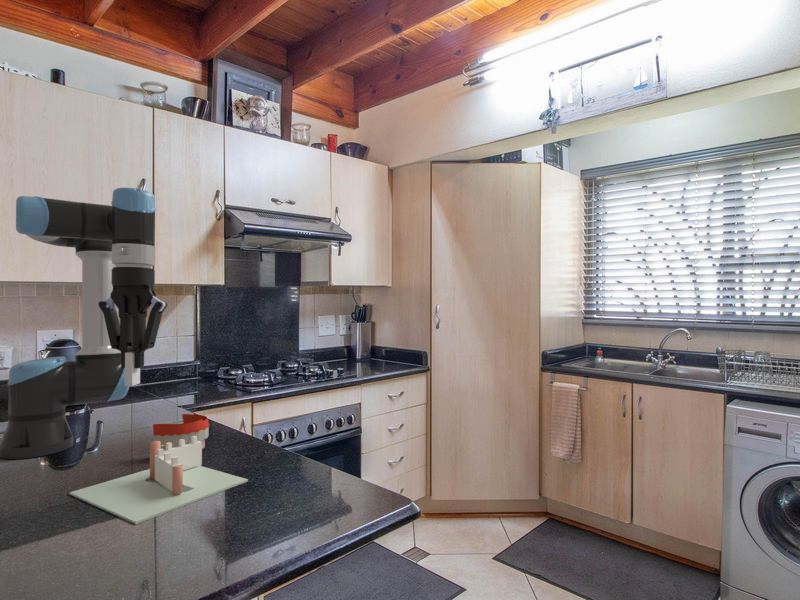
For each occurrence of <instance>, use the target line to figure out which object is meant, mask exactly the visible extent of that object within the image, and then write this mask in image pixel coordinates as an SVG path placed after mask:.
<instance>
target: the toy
mask: <svg viewBox="0 0 800 600" xmlns="http://www.w3.org/2000/svg"><path fill="white" fill-rule="evenodd" d="M181 416H182V423H153V424H152V431H153V432H152V433H153V441H161V449H164V450H166V443H168V442H170V443H172V448H174V447H177V446H179V440H180V439H184V440H185V444H189V443H191V437H192V436H197V441H201V442H202V451H203V450H204V449H205V448H206V446H205V445H206V444H205V443H206V442H205V440H206V439H208V438H209V435H210V434H209V433H210V431H209V430H210V429H209V428H210V422H209V420H208V417H207V416H206V415H202V414H192V413H183V414H181Z"/></svg>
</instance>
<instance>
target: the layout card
mask: <svg viewBox="0 0 800 600" xmlns="http://www.w3.org/2000/svg"><path fill="white" fill-rule="evenodd" d="M247 482H249V479H248V478H245V477H241V476H238V475H233V474H230V473H226V472H224V471H220V470H216V469H213V468H209V467H206V466H202V465H200V466H196V467H193V468H190V469H187V470H183V492H182V493H180V494H172V492H171V491H170V490H169V489H167V488H166V487H164V486H163V485H161V484H160V483H159V482H157V481H156V480H150V468H148V469H144V470H141V471H138V472H134V473H131V474H128V475H124V476H121V477H117V478H114V479H110V480H108V481H103V482H100V483H96V484H94V485H90V486H86V487H83V488H80V489H76V490H73V491H70V492H69V495H70V496H72V497H75V498H76V499H79V500H81V501H83V502H86V503H88V504H90V505H92V506H94V507H97V508H99V509H102V510H103V511H105V512H108V513H110V514H112V515H114V516H116V517H119V518H121V519H123V520H125V521H127V522H129V523H132V524H134V525H139V524H140V523H141V524H142V523H144V522H146V521H148V520H151V519H154V518H156V517H160V516H161V515H164V514H167V513H169V512H172V511H175V510H177V509H180V508H182V507H185V506H188V505H190V504H192V503H195V502H198V501H200V500H204V499H206V498H208V497H210V496H213V495H216V494H219V493H222V492H224V491H227V490H229V489H231V488H234V487H237V486H240V485H242V484H245V483H247Z"/></svg>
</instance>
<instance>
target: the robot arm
mask: <svg viewBox="0 0 800 600" xmlns="http://www.w3.org/2000/svg"><path fill="white" fill-rule="evenodd" d="M155 198H156V197H155V195H154V194H153V192H151V191H149V190H146V189H142V188H135V187H118V188H116V189H114V190H113V191H112V197H111V199H112V200H111V201H110V202H111V205H107V204H99V203H89V202H83V201H82V202H81V201H80V202H78V201H72V200H65V199H55V198H47V197H43V196H27V195H21V196H18V197H17V198H16V200H15V230H16V232H18V233H19V234H21V235H26V236H27V237H28V238H30V239H32V240H35V241H37V242H41V243H42V244H47V245H52V246H57V247H63V248H64V247H66V248H75V252H74V253H75V255H76V257H78V259H79V260H81V265H82V266H81V267H82V268H81V272H82V273H81V278H82V281H81V285H82V286H81V288H82V289H81V293H82V294H81V297H82V299H81V301H82V302H81V303H82V305H81V306H82V307H81V310H82V311H81V312H82V313H81V315H82V316H81V317H82V318H81V326H82V327H81V329H82V330H81V331H82V333H81V336H82V337H81V340H82V341H81V342H82V343H81V345H82V346H81V348H80V349H79V350H78V351H77V352H76V353H75V360H73V361H72V360H71V361H68V359H67V358H66V357H65V356H64V355H63V356H62V355H61V356H52V357H51V356H50V357H43V358H38V359H37V358H36V359H32V360H27V361H21V362H18V363H16V364H14V365H12V367H10V369H9V371H8V372H9V374H8V381H7V386H8V409H7V410H8V412H7V414H8V415H7V416H8V421H7V426H6V428H5V430H4V433H3V436H2V438H1V441H0V458H1V459H7V460H8V459H9V460H17V459H18V460H21V459H30V458H37V457H43V456H48V455H52V454H56V453H57V454H58V453H61V452H63V451H66V450H68V449H71V448H72V447H73V446H74V435H73V432H72V430H71V427H70V425H69V423H68V419H67V418H66V417H67V416H66V407H67V406H75V405H77V406H78V405H85V404H86V405H87V404H95V403H103V402H104V403H108V402H111V401H119V400H122V399H123V398H125V397H126V396H127V394H128V392H129V389H130V387H133V386H136V385H139V384H141V369H142V368H144V366H145V351H146V350H149V349H152V348H154V347H155V345H156V344H155V343H156V341H157V337H158V333H159V329H160V323H161V320H162V316H163V313H164V311H165V310H166V308H167V307H168V303H167V302H166V301H162V300H161V299H159V298H157V297H156V296H157V295H156V292H155V290H154V287H155V281H156V279H155V274H156V273H155V271H156V270H154V268H152V267H154V266H155V265H156V259H155V258H156V255H155V254H156V253H155V252H156V250H155V248H156V247H155V239H156V238H155V237H156V236H155V235H156V233H155V232H156V211H157V208H156V203H155V202H156V199H155ZM149 308H151V309H150V311H149V315H148V309H149ZM147 316H148V319H147ZM146 319H147V322H146Z"/></svg>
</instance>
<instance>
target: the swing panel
mask: <svg viewBox="0 0 800 600" xmlns="http://www.w3.org/2000/svg"><path fill="white" fill-rule="evenodd" d="M155 480H156V481H157V482H159V483H160V484H161V485H163V486H164V487H166V488H167V489H169V490H170V491H171V492H172V494H180V493H182V492H183V465H179V464H178V457H177V456H175V457H171V453H170V452H168V453H164V449H158V450H157V455H155Z"/></svg>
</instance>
